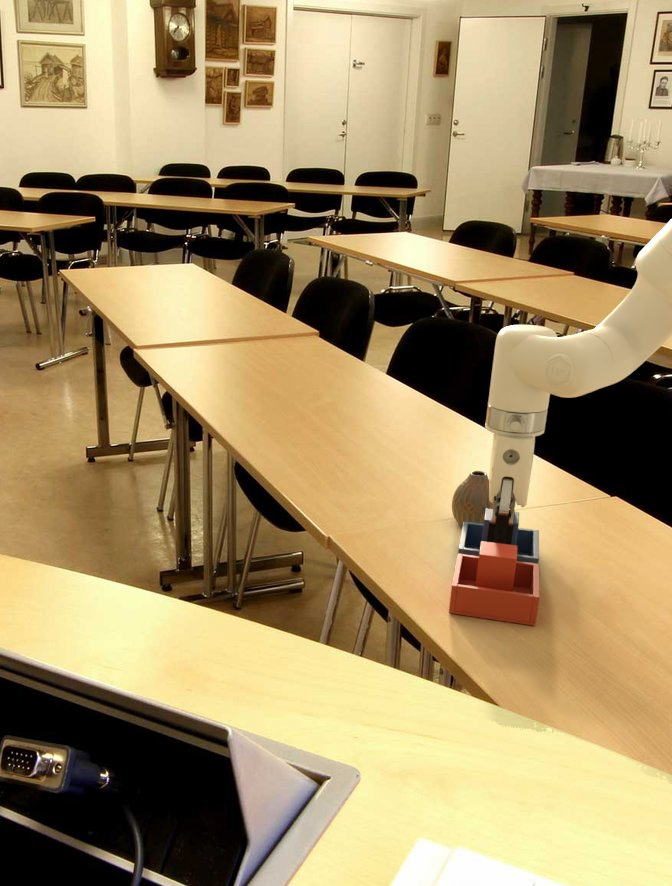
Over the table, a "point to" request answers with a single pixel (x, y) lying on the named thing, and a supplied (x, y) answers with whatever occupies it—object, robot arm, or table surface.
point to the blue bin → (525, 542)
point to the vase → (472, 499)
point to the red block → (496, 566)
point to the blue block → (489, 518)
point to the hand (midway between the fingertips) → (498, 540)
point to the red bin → (495, 593)
